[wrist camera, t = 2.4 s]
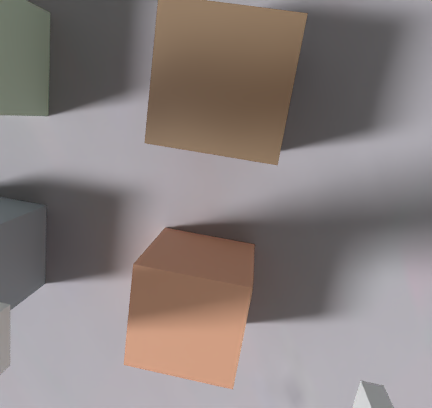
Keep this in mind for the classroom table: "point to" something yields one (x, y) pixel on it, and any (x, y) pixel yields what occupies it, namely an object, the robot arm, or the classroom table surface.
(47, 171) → the classroom table surface
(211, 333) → the terracotta block
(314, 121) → the classroom table surface
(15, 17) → the sage block
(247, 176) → the classroom table surface
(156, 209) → the classroom table surface
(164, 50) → the walnut block
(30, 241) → the slate block
